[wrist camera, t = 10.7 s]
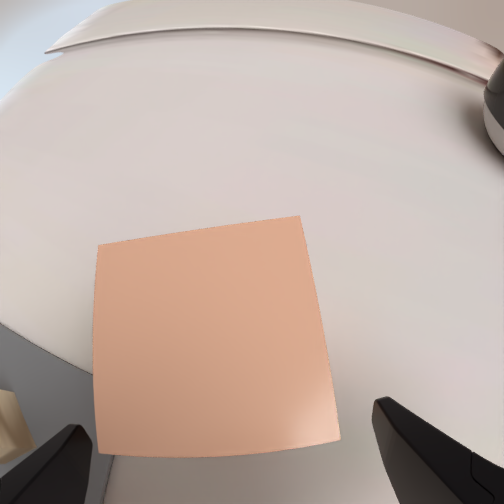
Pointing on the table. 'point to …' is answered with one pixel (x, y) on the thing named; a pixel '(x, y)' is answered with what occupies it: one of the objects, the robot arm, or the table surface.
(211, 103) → the table surface
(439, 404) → the table surface
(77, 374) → the charcoal mat
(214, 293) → the salmon orange block
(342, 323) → the table surface
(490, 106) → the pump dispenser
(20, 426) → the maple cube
